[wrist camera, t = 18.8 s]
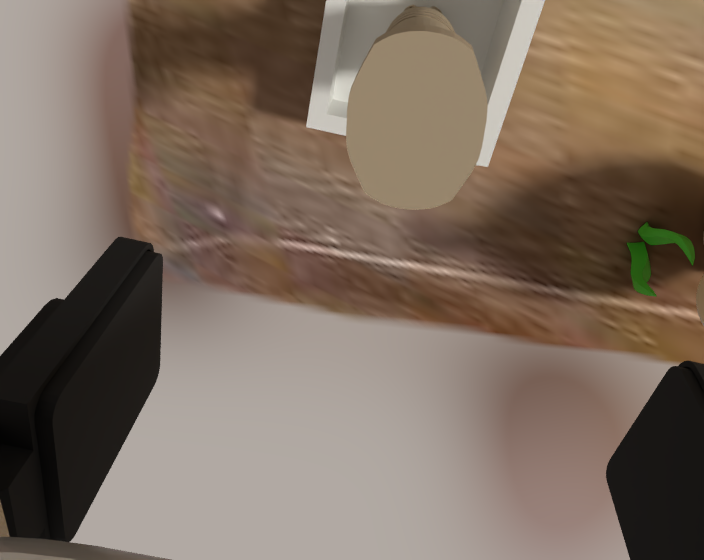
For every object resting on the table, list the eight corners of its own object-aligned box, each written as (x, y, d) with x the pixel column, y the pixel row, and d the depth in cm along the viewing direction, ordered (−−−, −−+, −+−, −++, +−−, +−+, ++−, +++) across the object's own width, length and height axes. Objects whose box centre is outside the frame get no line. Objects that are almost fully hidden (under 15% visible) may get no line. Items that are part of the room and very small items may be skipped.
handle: (372, 88, 36) (343, 204, 24) (380, -34, 33) (351, 25, 20) (456, 95, 36) (470, 215, 23) (473, -28, 32) (501, 36, 20)
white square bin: (349, -100, 32) (335, -95, 27) (538, -56, 32) (559, -43, 27) (315, 107, 38) (298, 143, 33) (474, 143, 38) (481, 184, 33)
